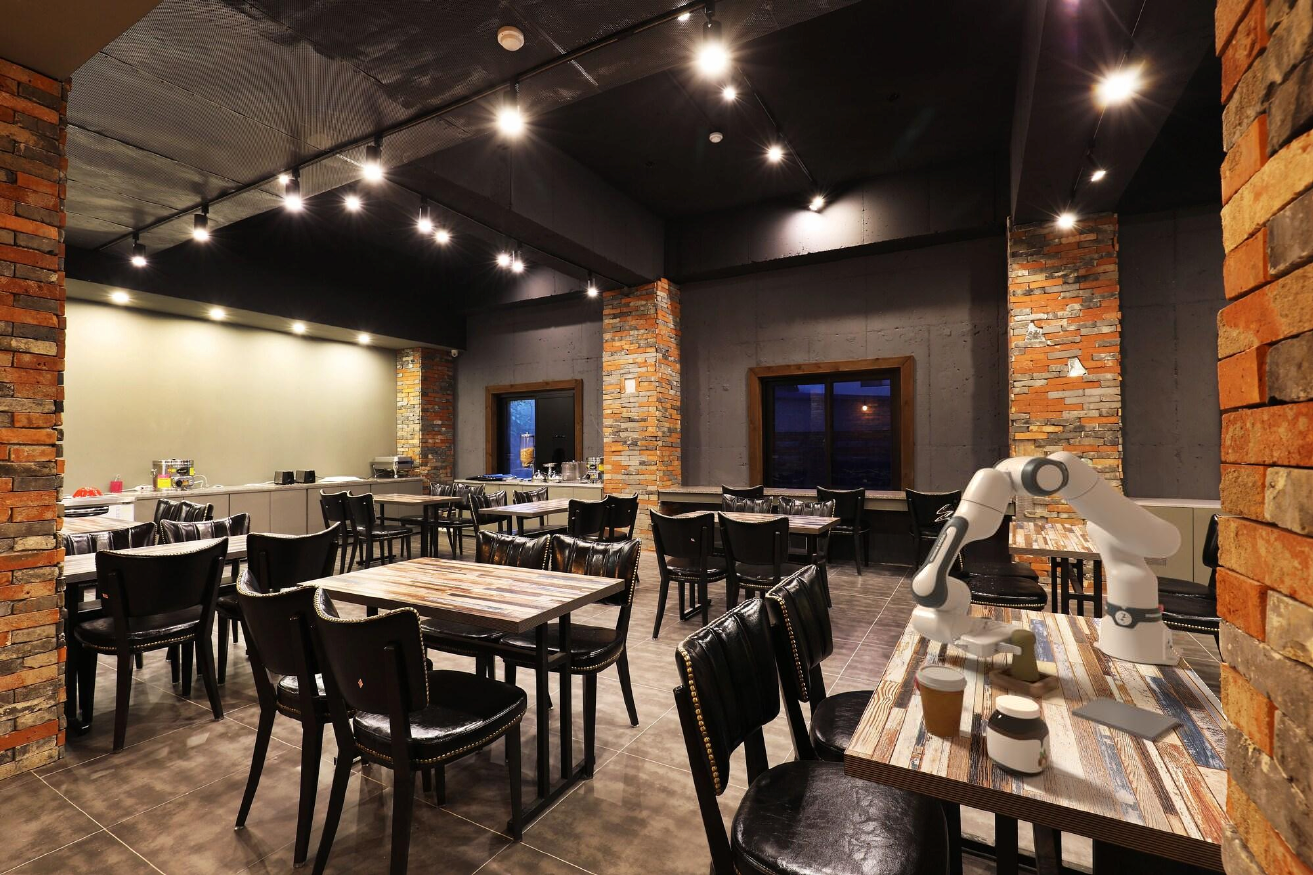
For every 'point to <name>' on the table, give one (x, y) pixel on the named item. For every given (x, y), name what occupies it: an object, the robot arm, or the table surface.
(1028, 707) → the spread jar
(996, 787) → the table surface
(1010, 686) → the square wooden frame
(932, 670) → the disposable coffee cup
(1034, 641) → the cork
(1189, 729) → the table surface
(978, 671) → the table surface
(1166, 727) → the coaster
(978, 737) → the table surface
